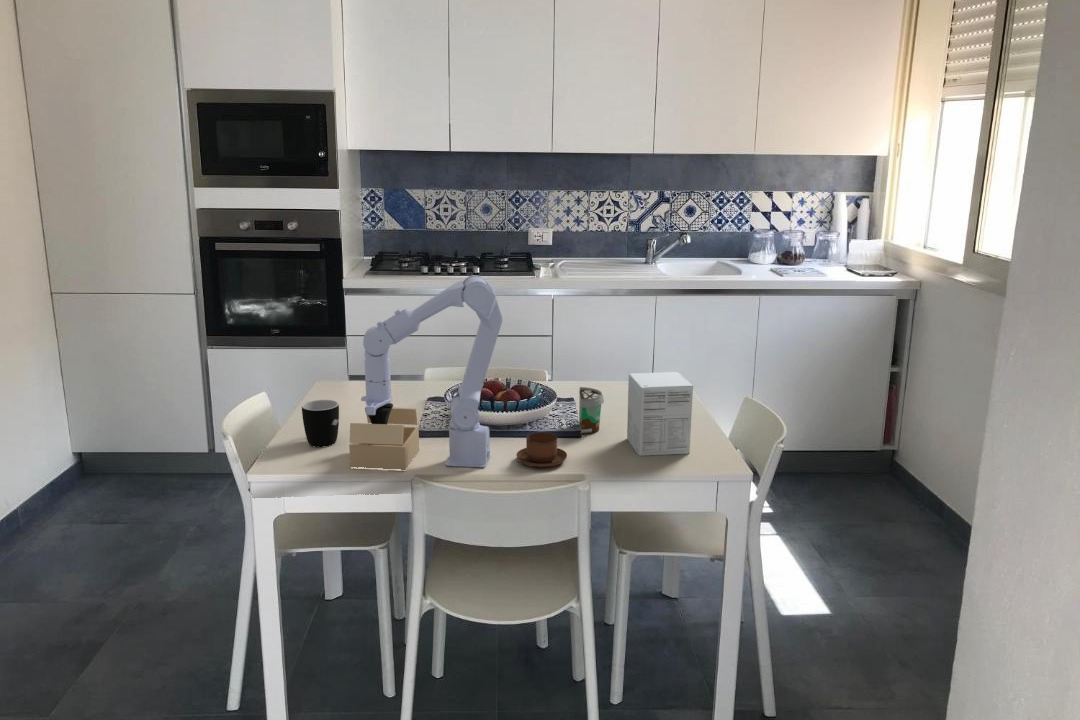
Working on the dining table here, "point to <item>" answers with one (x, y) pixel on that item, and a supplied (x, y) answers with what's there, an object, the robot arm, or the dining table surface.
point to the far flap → (401, 416)
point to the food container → (589, 410)
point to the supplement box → (659, 413)
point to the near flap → (376, 433)
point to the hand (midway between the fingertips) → (380, 435)
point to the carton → (386, 452)
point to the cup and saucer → (541, 451)
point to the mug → (321, 422)
